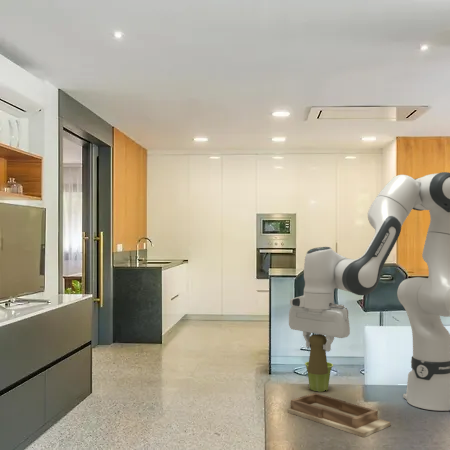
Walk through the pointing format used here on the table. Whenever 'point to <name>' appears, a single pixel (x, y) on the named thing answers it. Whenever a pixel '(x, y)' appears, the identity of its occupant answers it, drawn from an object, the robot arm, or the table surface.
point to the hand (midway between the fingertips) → (318, 348)
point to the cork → (317, 355)
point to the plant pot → (319, 379)
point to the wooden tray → (338, 414)
